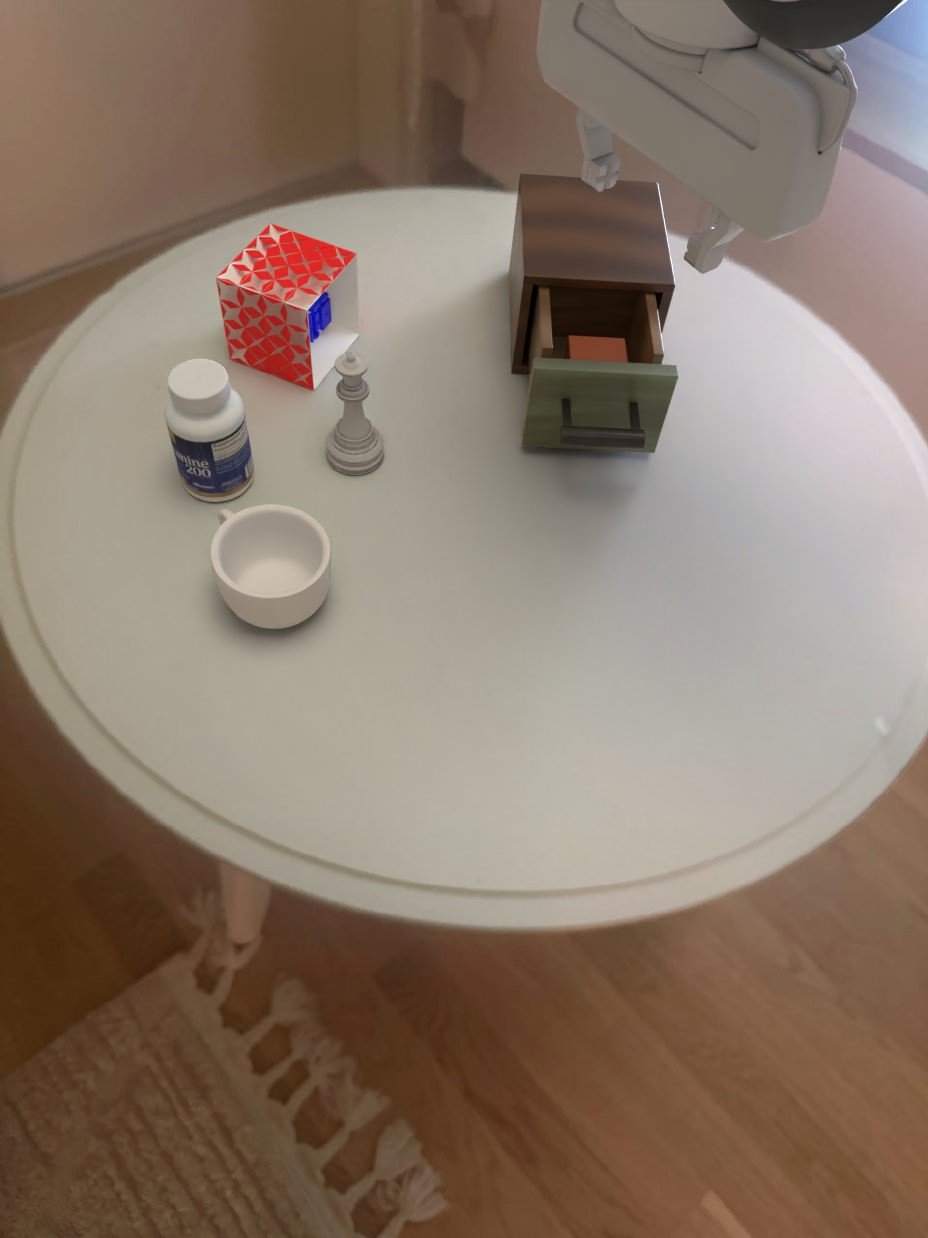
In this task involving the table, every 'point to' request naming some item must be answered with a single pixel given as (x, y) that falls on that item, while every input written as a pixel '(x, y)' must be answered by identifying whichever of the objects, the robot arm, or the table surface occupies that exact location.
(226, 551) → the teacup
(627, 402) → the drawer
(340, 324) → the red patterned box
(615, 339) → the block
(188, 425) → the pill bottle
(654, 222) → the cabinet
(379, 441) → the chess piece
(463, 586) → the table surface
